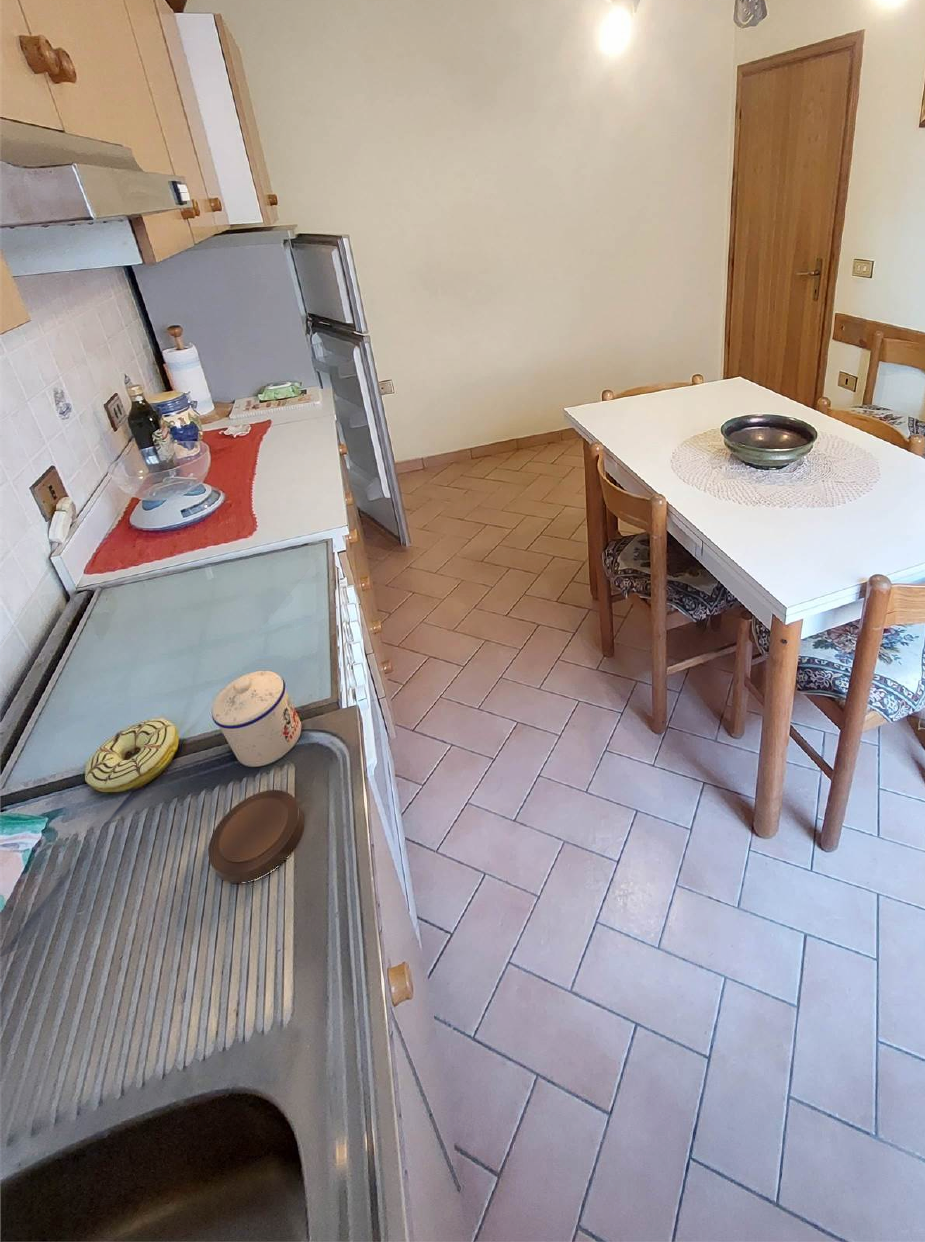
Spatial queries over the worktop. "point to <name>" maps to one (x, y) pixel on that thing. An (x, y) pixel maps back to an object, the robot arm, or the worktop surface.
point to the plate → (256, 836)
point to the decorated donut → (120, 774)
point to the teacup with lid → (257, 718)
